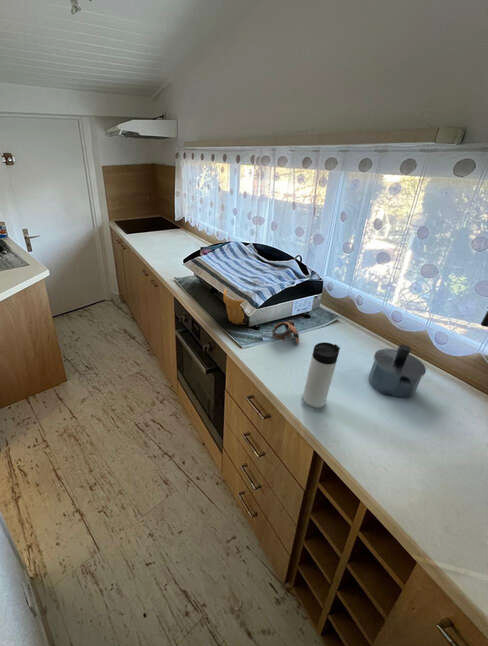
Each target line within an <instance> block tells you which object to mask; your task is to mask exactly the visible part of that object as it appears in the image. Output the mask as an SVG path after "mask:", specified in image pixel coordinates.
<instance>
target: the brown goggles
mask: <svg viewBox="0 0 488 646" xmlns="http://www.w3.org/2000/svg"><path fill="white" fill-rule="evenodd" d="M282 326H284V328H285V331H284V332H280V333H277V332H276V331H277V330H278V329H279V328H280V327H282ZM271 332H272V338H273V339H275V340H277V341H283V342H285V341H286V338H290V339H292V338H295V342H296V345H299V344H300V336H299V332H298V330H297V328H296V327H295V322H294V320H292V319H290V320H287V321H281V322H279V323H277V324H275V325H274V327H273V329H272V330H271Z"/></svg>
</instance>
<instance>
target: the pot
mask: <svg viewBox="0 0 488 646" xmlns="http://www.w3.org/2000/svg"><path fill="white" fill-rule="evenodd" d="M385 349H389V348H387V347H385ZM392 349H393V350H395V349H394V348H392ZM373 360H374V359H373ZM421 380H422V377H420V378H415V379H410V378H403V377H399V376H396V375H393V374H391V373H389V372H387V371H385V370H383V369H382V368H381V367H379V366H378V365H377V364H376V362H375V360H374V361H373V363H372V366H371V369H370V371H369V374H368V382H369V384H370V386H371V387H372V388H373V389H374V390H375V391H376V392H378V393H380V394H382V395H384V396H386V397H390V398H391V397H392V398H397V399H401V400H402V399H403V400H407V399H410V398H412V397H413V396H414V395H415V393H416V390H417V388H418V386H419V384H420V382H421Z"/></svg>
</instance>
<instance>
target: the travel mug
mask: <svg viewBox="0 0 488 646" xmlns="http://www.w3.org/2000/svg"><path fill="white" fill-rule="evenodd" d="M340 350H341V348H340V346H338V344H333V343H332V342H318V343H316V344H315V345H314V346H313V350H312V355H311V359H310V364H309V368H308V371H307V375H306V382H305V385H304V390H303V395H302V401H303V403H304V404H305V405H306V406H308V408H309V407H310V408H312V409H317V410H319V409H323V408H324V407H325V406H326V401H327V399H328V394H329V390H330V386H331V383H332V380H333V376H334V373H335V369H336V366H337V362H338V357H339V353H340Z"/></svg>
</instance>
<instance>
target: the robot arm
mask: <svg viewBox="0 0 488 646" xmlns="http://www.w3.org/2000/svg"><path fill="white" fill-rule="evenodd" d="M486 309H487V311H486V313H485V314H484V316H483V318H482V321H481V322H480V326H482V327H487V328H488V306H487V307H486Z"/></svg>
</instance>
